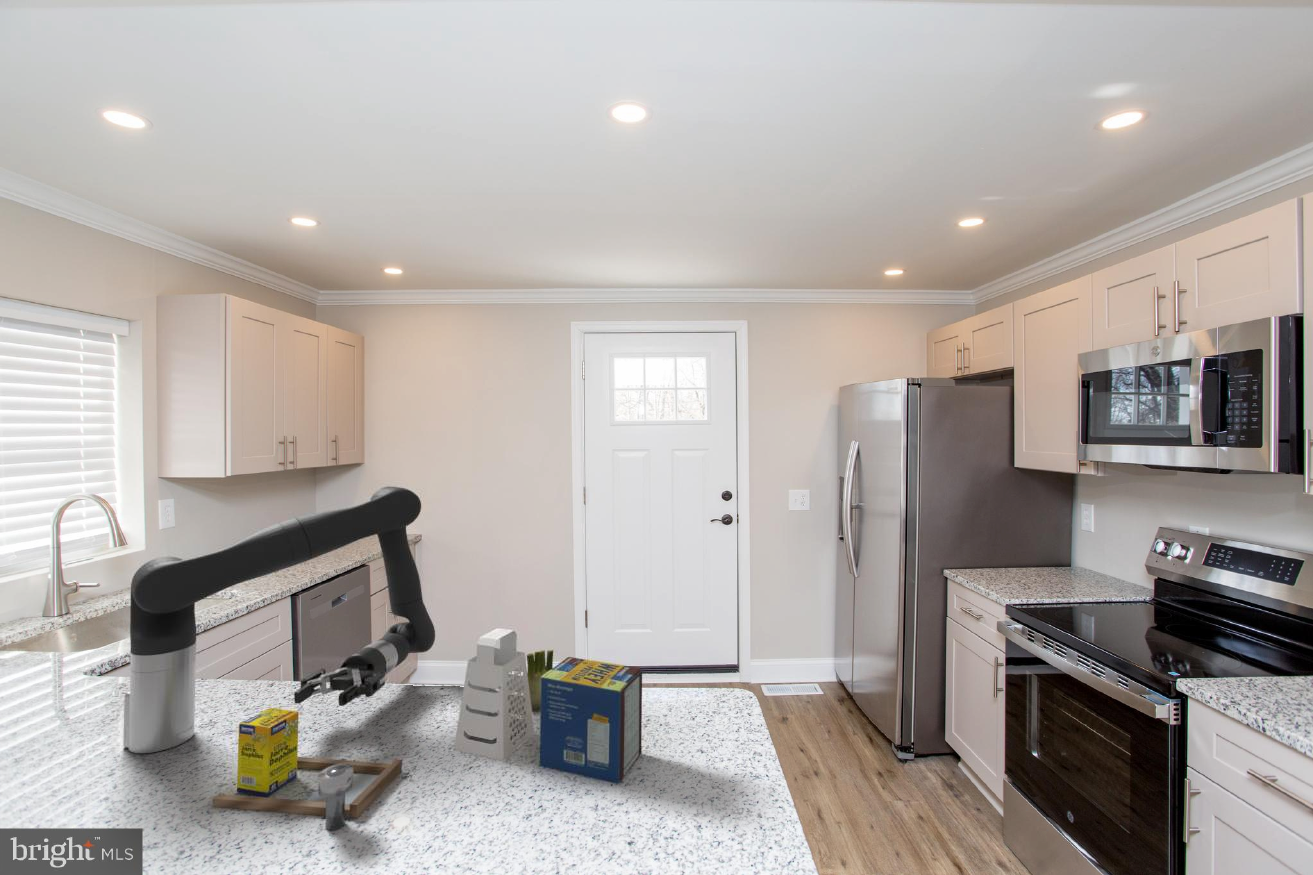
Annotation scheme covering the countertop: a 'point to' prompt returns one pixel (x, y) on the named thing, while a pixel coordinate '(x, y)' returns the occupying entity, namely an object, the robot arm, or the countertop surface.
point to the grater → (495, 698)
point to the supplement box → (267, 751)
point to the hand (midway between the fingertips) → (318, 699)
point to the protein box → (591, 718)
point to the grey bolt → (335, 793)
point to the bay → (355, 799)
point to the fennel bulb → (537, 674)
